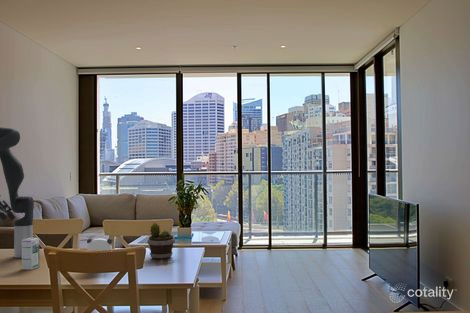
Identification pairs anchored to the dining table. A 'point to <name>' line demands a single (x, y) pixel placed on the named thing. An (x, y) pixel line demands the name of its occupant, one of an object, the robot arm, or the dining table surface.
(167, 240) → the flowerpot
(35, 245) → the syrup box
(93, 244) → the panda figurine
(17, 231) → the robot arm
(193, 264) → the dining table surface
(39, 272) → the dining table surface
